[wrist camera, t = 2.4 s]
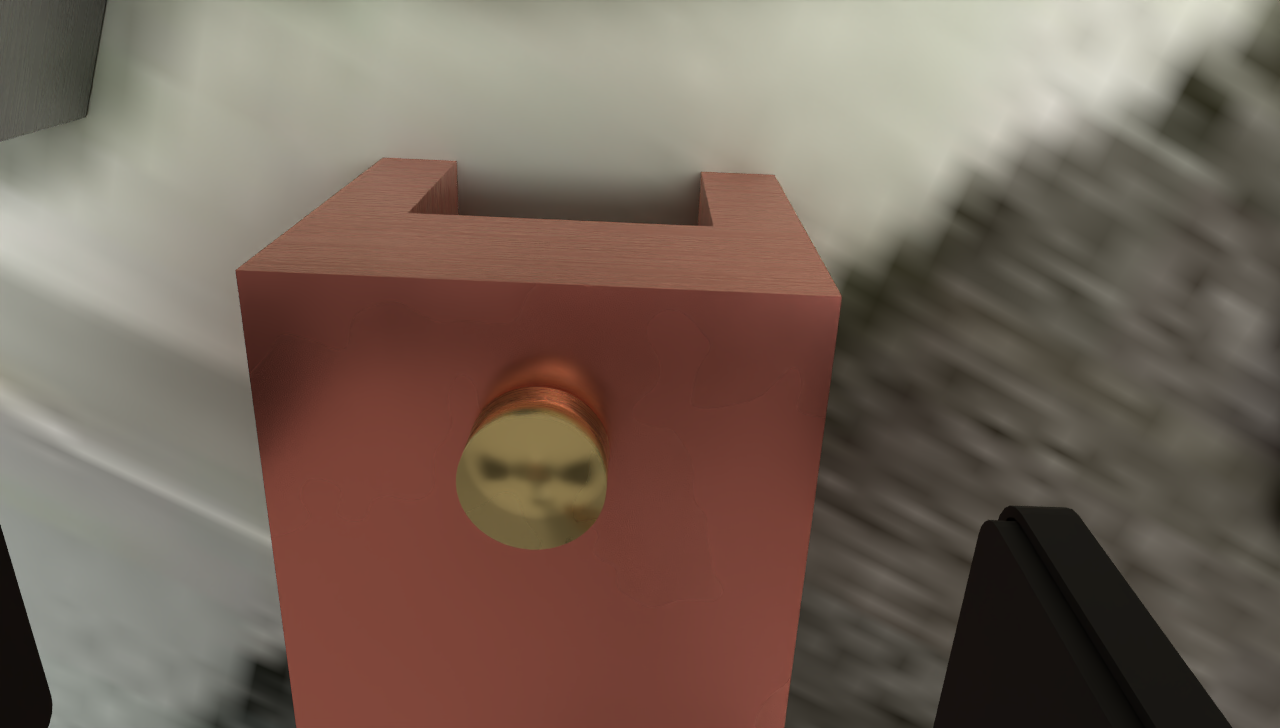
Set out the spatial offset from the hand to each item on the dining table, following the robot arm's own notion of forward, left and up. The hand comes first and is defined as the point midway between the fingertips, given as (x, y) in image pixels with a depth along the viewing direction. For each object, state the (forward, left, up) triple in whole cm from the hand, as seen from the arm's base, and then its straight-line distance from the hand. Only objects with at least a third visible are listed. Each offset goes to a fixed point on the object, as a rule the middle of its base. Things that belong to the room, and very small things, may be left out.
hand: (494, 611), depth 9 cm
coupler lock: (-1, 0, -8) cm, 8 cm away
